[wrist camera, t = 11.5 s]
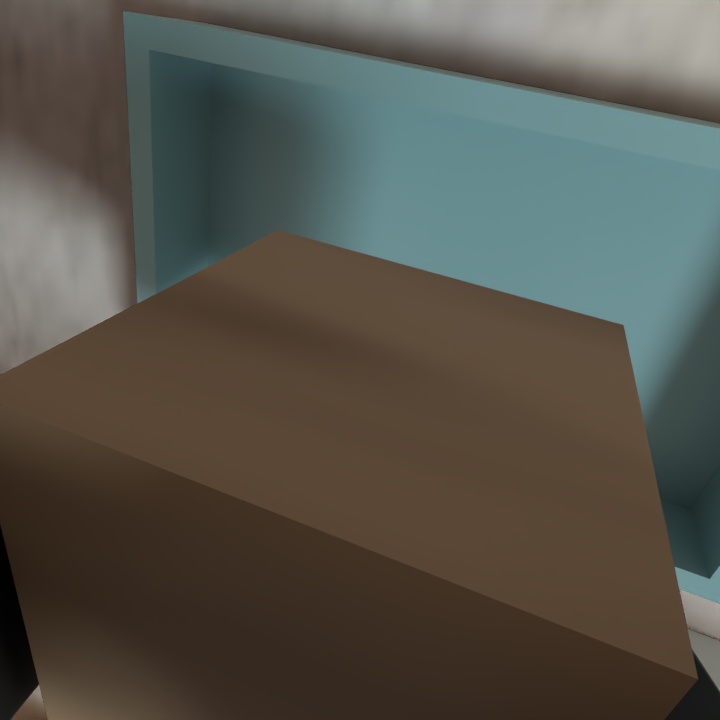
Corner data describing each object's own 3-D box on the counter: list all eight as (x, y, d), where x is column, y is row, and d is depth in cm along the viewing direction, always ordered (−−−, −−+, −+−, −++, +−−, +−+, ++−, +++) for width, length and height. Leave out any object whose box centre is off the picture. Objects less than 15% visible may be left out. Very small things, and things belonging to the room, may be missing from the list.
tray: (935, 165, 10) (1051, 194, 8) (698, 518, 15) (724, 605, 13) (204, 22, 14) (122, 10, 11) (199, 350, 19) (141, 394, 16)
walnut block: (509, 574, 10) (462, 959, 5) (256, 478, 11) (52, 739, 6) (623, 324, 7) (698, 678, 3) (278, 229, 8) (-34, 391, 4)
